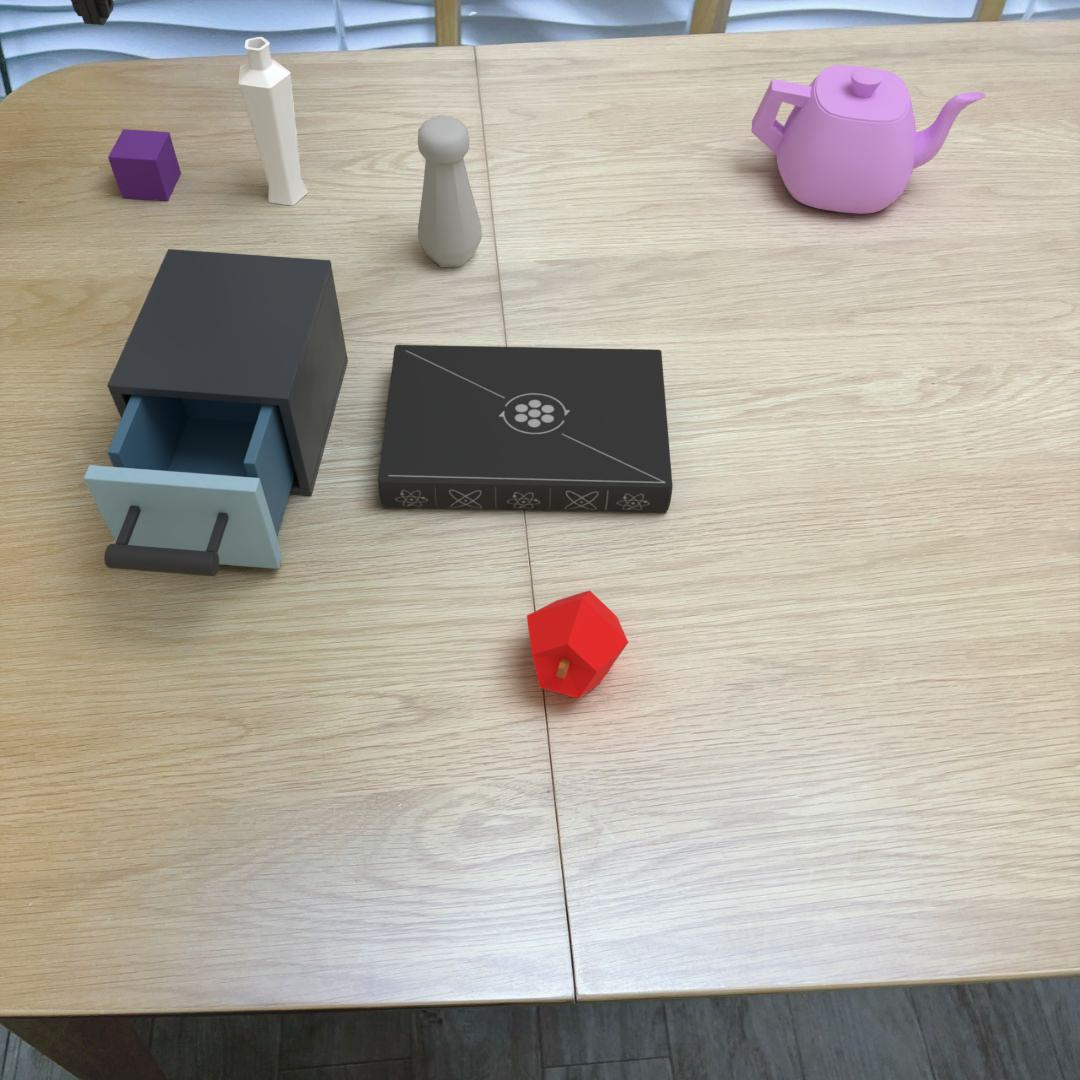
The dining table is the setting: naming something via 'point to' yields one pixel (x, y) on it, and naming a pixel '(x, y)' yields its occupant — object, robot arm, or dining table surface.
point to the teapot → (850, 137)
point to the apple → (574, 643)
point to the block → (145, 164)
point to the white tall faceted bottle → (272, 121)
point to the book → (526, 429)
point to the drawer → (194, 486)
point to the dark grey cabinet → (242, 343)
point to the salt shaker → (447, 194)
